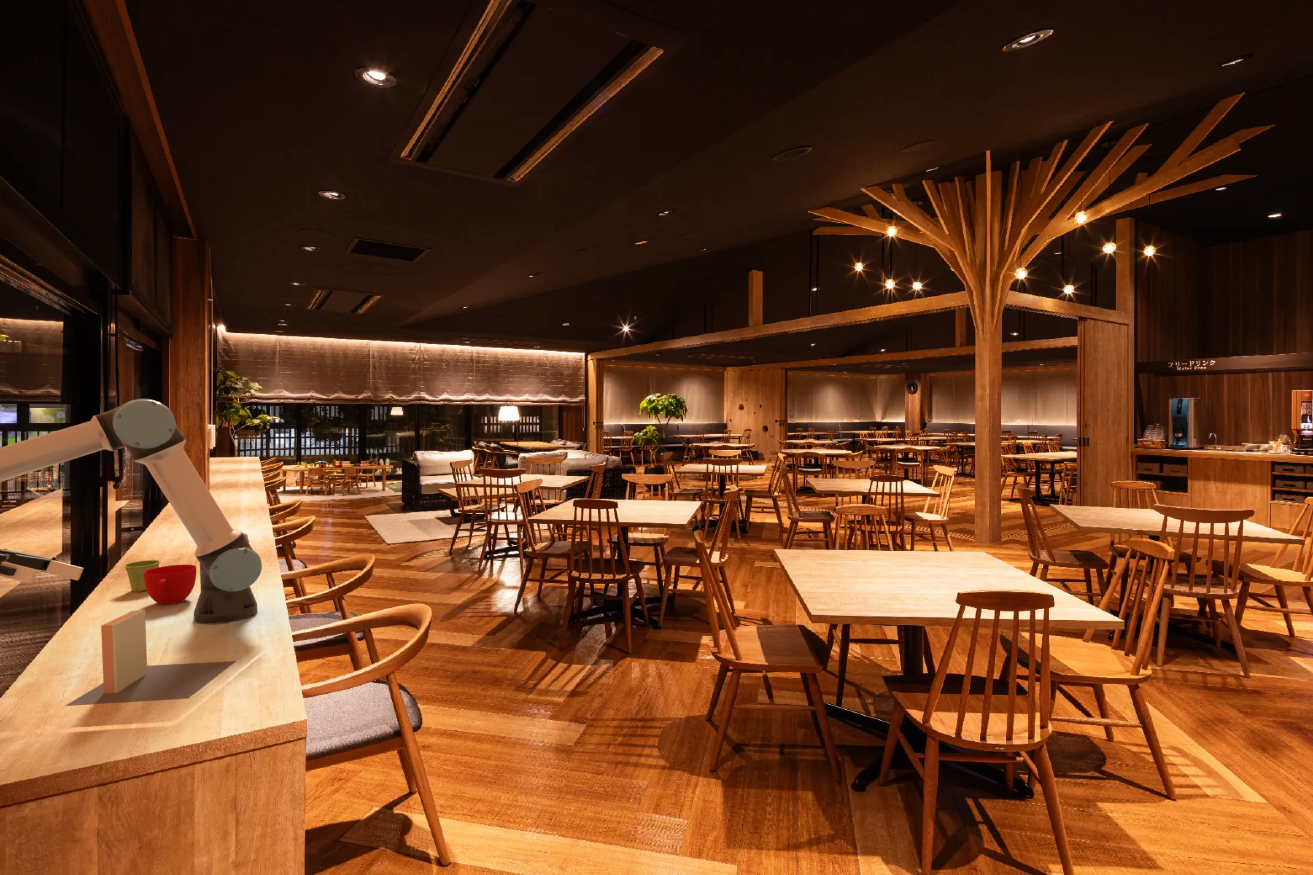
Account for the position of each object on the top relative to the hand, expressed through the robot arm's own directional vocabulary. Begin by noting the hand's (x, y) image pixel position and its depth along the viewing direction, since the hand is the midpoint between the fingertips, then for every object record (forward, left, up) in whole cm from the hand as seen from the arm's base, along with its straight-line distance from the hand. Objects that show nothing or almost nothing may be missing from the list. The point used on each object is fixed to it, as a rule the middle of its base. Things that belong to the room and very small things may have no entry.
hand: (58, 575), depth 142 cm
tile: (-11, +12, -22) cm, 27 cm away
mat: (-16, +15, -23) cm, 32 cm away
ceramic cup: (-21, -57, -23) cm, 65 cm away
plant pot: (-15, -82, -23) cm, 87 cm away
